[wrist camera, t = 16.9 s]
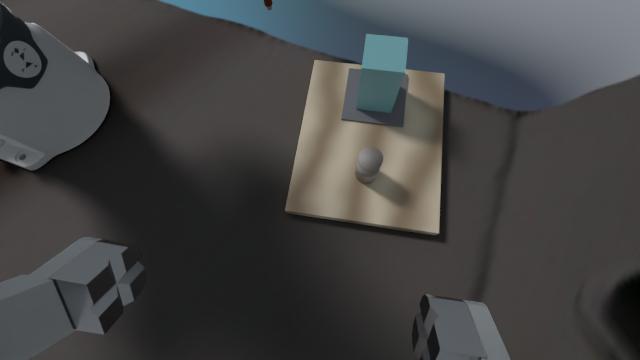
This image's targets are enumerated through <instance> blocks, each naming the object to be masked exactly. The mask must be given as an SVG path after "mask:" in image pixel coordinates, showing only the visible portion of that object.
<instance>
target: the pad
mask: <svg viewBox="0 0 640 360" xmlns="http://www.w3.org/2000/svg"><path fill="white" fill-rule="evenodd" d="M360 75H361V69H353V68H349V72H348V79H347V85H346V92H345V98H344V105H343V111H342V118H341V120H347V121H355V122H363V123H371V124H379V125H388V126H396V127H403V126H404V114H405V101H406V89H407V76H408V74H405V75H404V78H403V80H402V83H401V86H400V89H399V92H398V94H397V97H396V100H395V103H394V106H393V109H392V111H391V113H386V112H377V111H369V110H361V109H356V103H357V96H358V89H359V82H360Z"/></svg>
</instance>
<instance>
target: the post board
mask: <svg viewBox="0 0 640 360" xmlns="http://www.w3.org/2000/svg"><path fill="white" fill-rule="evenodd" d="M349 68H353V69H361V68H362V65H358V64H348V63H339V62H330V61H320V60H315V61H314V67H313V72H312V77H311V82H310V87H309V92H308V97H307V102H306V107H305V112H304V117H303V122H302V127H301V132H300V137H299V142H298V147H297V152H296V157H295V162H294V167H293V172H292V177H291V182H290V187H289V192H288V197H287V202H286V207H285V211H286V213H289V214H296V215H302V216H309V217H316V218H322V219H329V220H336V221H342V222H349V223H356V224H362V225H369V226H376V227H382V228H389V229H396V230H402V231H409V232H416V233H422V234H429V235H437V234H439V222H440V193H441V164H442V135H443V105H444V76H445V74H443V73H433V72H424V71H415V70H405V74H408V76H407V89H406V101H405V114H404V126H403V127H396V126H388V125H379V124H371V123H363V122H355V121H347V120H341V118H342V111H343V105H344V98H345V92H346V85H347V79H348V72H349Z"/></svg>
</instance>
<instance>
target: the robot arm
mask: <svg viewBox="0 0 640 360" xmlns="http://www.w3.org/2000/svg"><path fill="white" fill-rule="evenodd" d="M109 104H110V92H109V88H108V85H107V83H106V81H105V80H104V79H103V78H102V77H101V76H100V75H99V74H98V73H97V72H96V70H95V67H94V63H93V60H92V58H91V57H90V56H89V55H87V54H86V53H84V52H73V51H72V50H71V49H69V48H68V47H67V46H66V45H64V44H63V43H62V42H60V41H59V40H58V39H56V38H55V37H54V36H53V35H51V34H50V33H49V32H47V31H46V30H45V29H43V28H42V27H41V26H39V25H37V24H35V23H25V22H23V21H22V20H21V19H20V18H18V17H17V16H16V15H15V13H14V12H13V11H12V10H10V9H9V8H8V7H7V6H5V5H4V4H2V3H1V2H0V159H2V160H4V161H7V162H9V163H12V164H15V165H17V166H20V167H22V168H25V169H27V170H36V169H38V168H40V167H41V166H43V165H44V164H45V163H47V162H48V161H49V160H50V159H52V158H53V157H54V156H56V155H58V154H60V153H63V152H65V151H68V150H70V149H72V148H74V147H76V146H78V145H79V144H81V143H83V142H84V141H85V140H87V139H88V138H89V137H90V136H91V135H92V134H93V133H94V132H95V131H96V130H97V129H98V128H99V126H100V125H101V123H102V122H103V120H104V118H105V116H106V114H107V112H108V108H109ZM141 257H142V255H141V251H140V248H139V247H137V246H135V245H130V244H125V243H120V242H115V241H109V240H104V239H103V240H102V239H97V238H92V237H84V238H80V239H79V240H77V241H76V242H75V243H73V244H72V245H70V246H69V247H68V248H66V249H65V250H63V251H62V252H61V253H59V254H58V255H56V256H55V257H54V258H52V259H51V260H49V261H48V262H47V263H45V264H44V265H42V266H41V267H40V268H38V269H37V270H35V271H34V272H33V273H31V274H30V275H20V276H17V277H15V278H12V279H9V280H6V281H3V282H1V283H0V360H28V359H30V358H32V357H33V356H35V355H37V354H38V353H40V352H41V351H43V350H45V349H46V348H48V347H50V346H51V345H53V344H55V343H56V342H58V341H60V340H61V339H63V338H65V337H66V336H68V335H69V334H71V333H73V332H74V330H79V331H85V332H91V333H97V334H103V335H105V333H106V332H107V331H108V330H109V329H110V328H111V327H112V325H113V324H114V323H115V322H116V321H117V320H118V319H119V317H120V316H121V315H122V314H123V306H125V305H127V304H129V303H130V302H132V301H134V300H135V299H136V298H137V296H138V295H139V294H140V293H141V291H142V289H143V286H144V284H145V281H146V272H145V268H144V267H143V266H142V265H141V264H140V262H139V260H140V258H141ZM420 309H421V312H420V313H419V314H417V315H416V316H415V319H414V323H413V330H412V344H413V351H414V353H415V355H416V356H417V357H418V359H419V360H511V359H510V357H509V354H508V352H507V350H506V348H505V346H504V343H503V341H502V339H501V337H500V334H499V332H498V330H497V328H496V326H495V323H494V321H493V319H492V317H491V315H490V312H489V310H488V308H487V306H486V305H485V304H484V303H479V302H473V301H467V300H460V299H454V298H447V297H441V296H435V295H428V294H424V295H423V296H422V298H421V301H420Z"/></svg>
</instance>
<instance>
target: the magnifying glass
mask: <svg viewBox="0 0 640 360" xmlns="http://www.w3.org/2000/svg"><path fill="white" fill-rule="evenodd" d="M264 3H265V6H267V9H268V10H271V8H272V7H271V5H272V0H264Z"/></svg>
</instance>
